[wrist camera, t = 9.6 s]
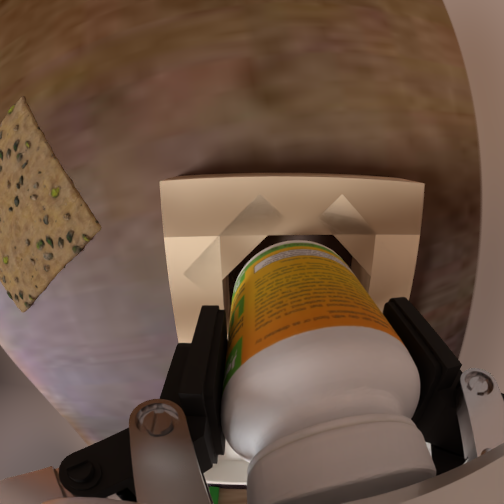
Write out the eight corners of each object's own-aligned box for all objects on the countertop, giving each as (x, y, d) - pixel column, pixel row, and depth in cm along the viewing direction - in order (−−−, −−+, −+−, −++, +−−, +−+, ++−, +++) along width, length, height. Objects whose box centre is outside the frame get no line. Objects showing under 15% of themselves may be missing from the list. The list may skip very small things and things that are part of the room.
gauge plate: (177, 176, 15) (159, 181, 12) (397, 177, 15) (424, 183, 12) (196, 363, 18) (188, 393, 16) (371, 356, 18) (385, 384, 15)
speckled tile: (109, 226, 16) (102, 230, 15) (27, 313, 18) (20, 318, 17) (27, 92, 13) (19, 90, 12) (-38, 202, 15) (-45, 204, 14)
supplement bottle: (221, 248, 12) (163, 477, 3) (348, 227, 12) (509, 397, 3) (244, 350, 14) (240, 545, 5) (351, 332, 14) (426, 507, 5)
